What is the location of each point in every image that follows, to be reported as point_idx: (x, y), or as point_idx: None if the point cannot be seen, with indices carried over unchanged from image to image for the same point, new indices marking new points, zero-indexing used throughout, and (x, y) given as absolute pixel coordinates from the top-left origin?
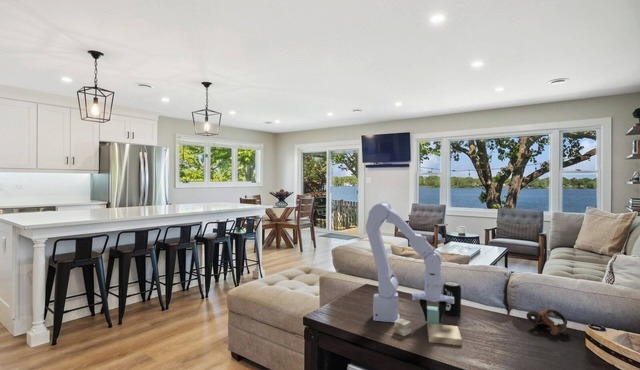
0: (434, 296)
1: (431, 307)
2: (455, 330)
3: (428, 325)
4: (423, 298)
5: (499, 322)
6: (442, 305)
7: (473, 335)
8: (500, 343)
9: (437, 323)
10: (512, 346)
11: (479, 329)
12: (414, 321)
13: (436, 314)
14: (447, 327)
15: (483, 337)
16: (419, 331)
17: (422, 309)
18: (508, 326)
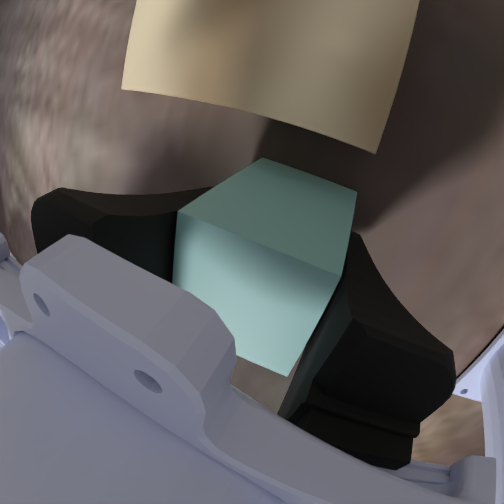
0: (28, 417)
1: (245, 334)
2: (156, 6)
3: (385, 98)
4: (382, 484)
5: (20, 211)
6: (65, 205)
7: (90, 57)
8: (39, 14)
9: (261, 170)
10: (23, 7)
11: (59, 140)
12: (414, 297)
13: (232, 204)
14: (200, 49)
15: (64, 48)
16: (464, 110)
17: (404, 308)
18: (6, 177)
